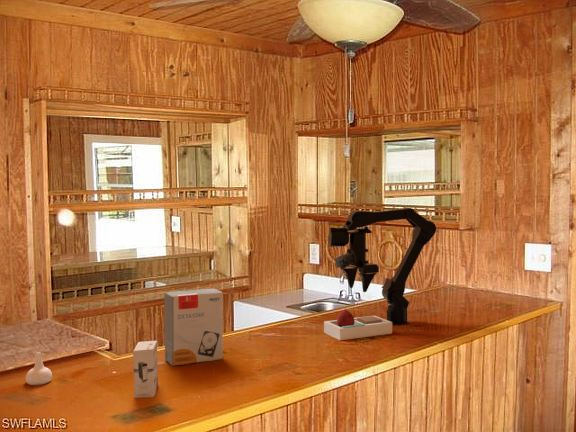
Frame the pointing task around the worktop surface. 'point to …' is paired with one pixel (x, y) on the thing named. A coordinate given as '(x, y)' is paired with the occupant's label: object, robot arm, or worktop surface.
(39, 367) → the garlic bulb
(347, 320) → the onion
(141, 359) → the ink box
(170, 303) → the hard drive box
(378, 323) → the white divided tray
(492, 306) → the worktop surface
